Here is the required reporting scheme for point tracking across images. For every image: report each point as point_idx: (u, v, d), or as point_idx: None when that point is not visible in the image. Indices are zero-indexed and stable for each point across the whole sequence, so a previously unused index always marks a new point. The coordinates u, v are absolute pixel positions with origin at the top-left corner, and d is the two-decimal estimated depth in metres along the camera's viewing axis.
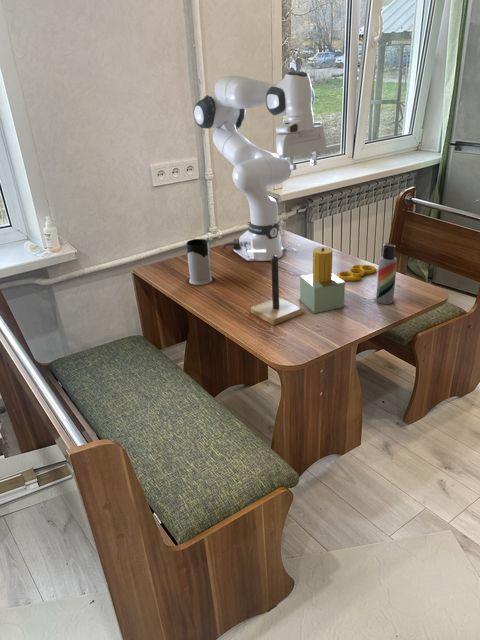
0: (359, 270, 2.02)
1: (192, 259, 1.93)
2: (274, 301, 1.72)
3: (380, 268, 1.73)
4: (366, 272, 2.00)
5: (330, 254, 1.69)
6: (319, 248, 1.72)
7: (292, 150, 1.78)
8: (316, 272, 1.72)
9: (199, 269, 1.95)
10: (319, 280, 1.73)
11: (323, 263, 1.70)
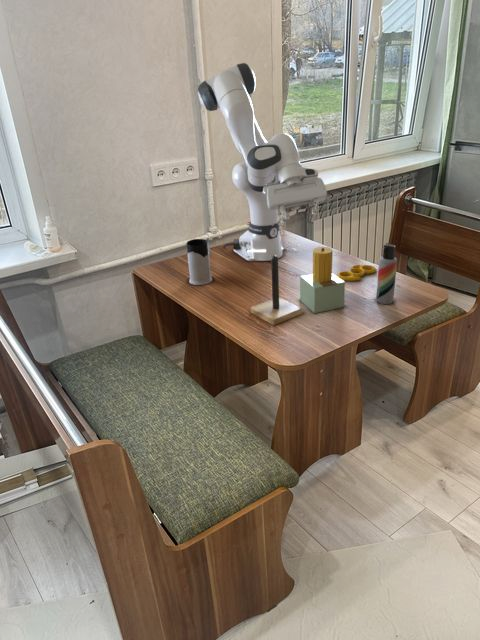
0: (359, 270, 2.02)
1: (192, 259, 1.93)
2: (274, 301, 1.72)
3: (380, 268, 1.73)
4: (366, 272, 2.00)
5: (330, 254, 1.69)
6: (319, 248, 1.72)
7: None
8: (316, 272, 1.72)
9: (199, 269, 1.95)
10: (319, 280, 1.73)
11: (323, 263, 1.70)
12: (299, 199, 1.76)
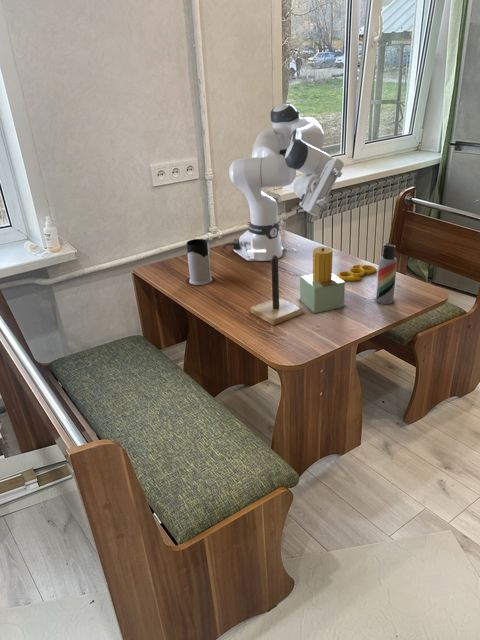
0: (359, 270, 2.02)
1: (192, 259, 1.93)
2: (274, 301, 1.72)
3: (380, 268, 1.73)
4: (366, 272, 2.00)
5: (330, 254, 1.69)
6: (319, 248, 1.72)
7: (312, 200, 1.82)
8: (316, 272, 1.72)
9: (199, 269, 1.95)
10: (319, 280, 1.73)
11: (323, 263, 1.70)
12: (330, 190, 1.81)
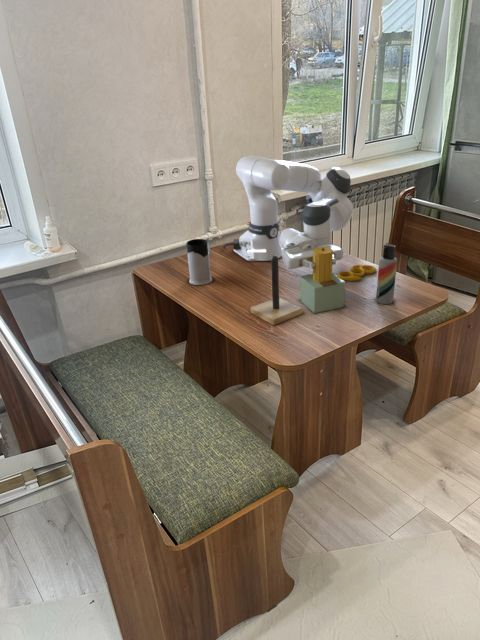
0: (359, 270, 2.02)
1: (192, 259, 1.93)
2: (274, 301, 1.72)
3: (380, 268, 1.73)
4: (366, 272, 2.00)
5: (330, 254, 1.69)
6: (319, 248, 1.72)
7: (298, 255, 1.75)
8: (316, 272, 1.72)
9: (199, 269, 1.95)
10: (319, 280, 1.73)
11: (323, 263, 1.70)
12: None
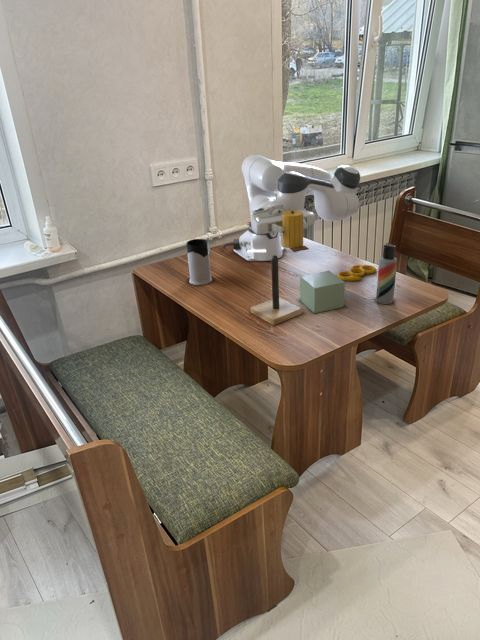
0: (359, 270, 2.02)
1: (192, 259, 1.93)
2: (274, 301, 1.72)
3: (380, 268, 1.73)
4: (366, 272, 2.00)
5: (300, 217, 1.59)
6: (289, 211, 1.62)
7: (267, 220, 1.65)
8: (286, 237, 1.62)
9: (199, 269, 1.95)
10: (289, 246, 1.63)
11: (293, 227, 1.59)
12: None
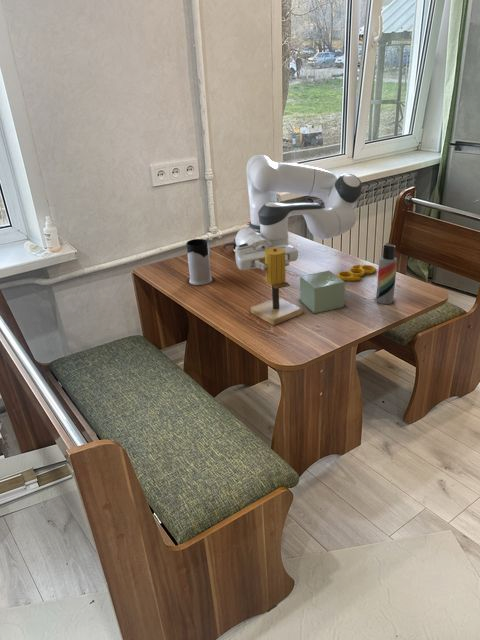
0: (359, 270, 2.02)
1: (192, 259, 1.93)
2: (274, 301, 1.72)
3: (380, 268, 1.73)
4: (366, 272, 2.00)
5: (282, 255, 1.63)
6: (271, 249, 1.66)
7: (250, 256, 1.68)
8: (268, 273, 1.66)
9: (199, 269, 1.95)
10: (272, 282, 1.67)
11: (275, 264, 1.63)
12: None
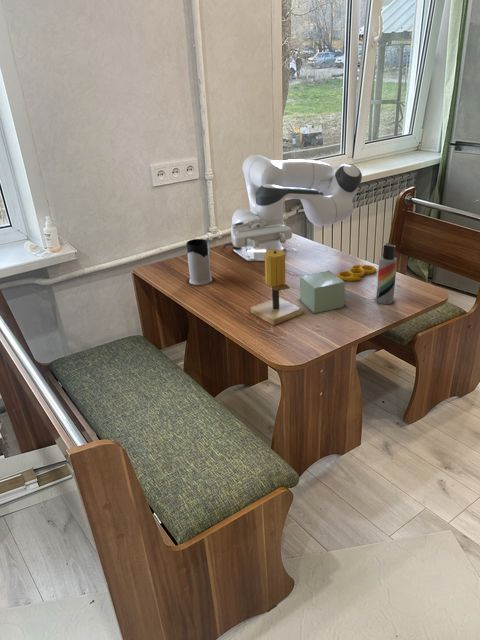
0: (359, 270, 2.02)
1: (192, 259, 1.93)
2: (274, 301, 1.72)
3: (380, 268, 1.73)
4: (366, 272, 2.00)
5: (282, 257, 1.63)
6: (272, 251, 1.66)
7: (245, 234, 1.73)
8: (268, 276, 1.66)
9: (199, 269, 1.95)
10: (271, 284, 1.67)
11: (275, 266, 1.64)
12: (263, 243, 1.75)
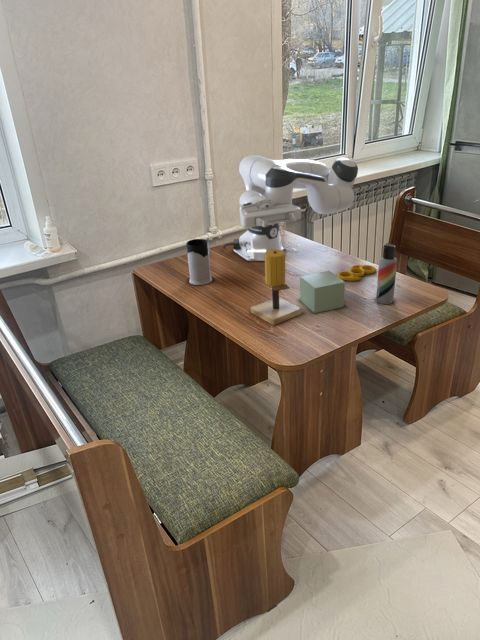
0: (359, 270, 2.02)
1: (192, 259, 1.93)
2: (274, 301, 1.72)
3: (380, 268, 1.73)
4: (366, 272, 2.00)
5: (282, 257, 1.63)
6: (272, 251, 1.66)
7: (254, 214, 1.71)
8: (268, 276, 1.66)
9: (199, 269, 1.95)
10: (271, 284, 1.67)
11: (275, 266, 1.64)
12: (272, 223, 1.73)
